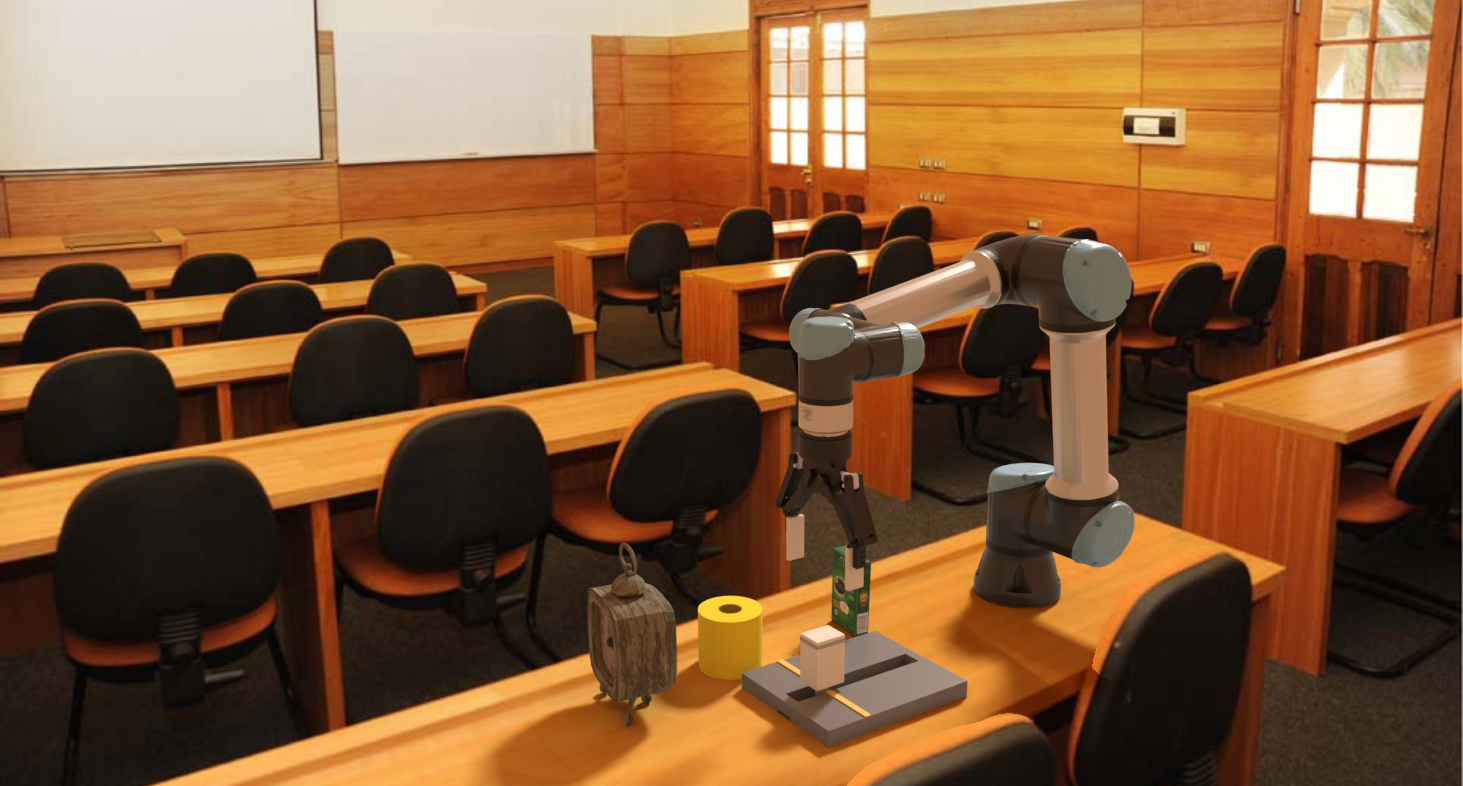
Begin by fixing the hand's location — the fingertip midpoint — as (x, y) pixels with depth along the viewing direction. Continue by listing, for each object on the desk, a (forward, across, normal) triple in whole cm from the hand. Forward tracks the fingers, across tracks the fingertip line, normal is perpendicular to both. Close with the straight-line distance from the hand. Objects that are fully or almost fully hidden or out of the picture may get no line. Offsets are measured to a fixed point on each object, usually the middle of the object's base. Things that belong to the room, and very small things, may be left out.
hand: (823, 572), depth 181 cm
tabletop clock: (+20, -15, -23) cm, 34 cm away
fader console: (+20, 0, +6) cm, 21 cm away
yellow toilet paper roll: (+21, -18, -4) cm, 28 cm away
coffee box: (+21, -18, +20) cm, 34 cm away
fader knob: (+20, 0, 0) cm, 20 cm away
